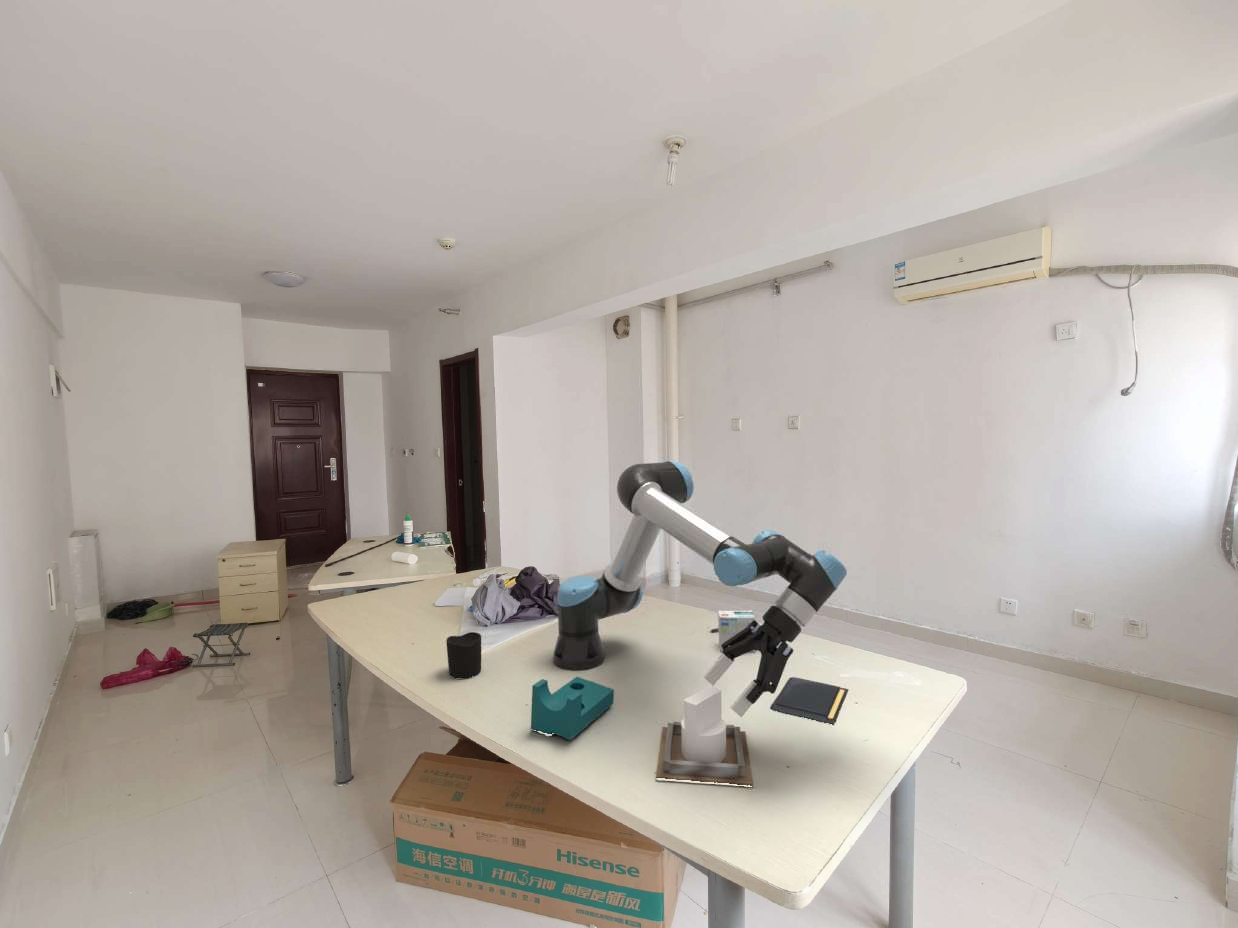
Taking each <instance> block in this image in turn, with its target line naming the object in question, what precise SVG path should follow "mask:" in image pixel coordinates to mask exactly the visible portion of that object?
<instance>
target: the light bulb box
mask: <svg viewBox="0 0 1238 928" xmlns="http://www.w3.org/2000/svg"><path fill="white" fill-rule="evenodd" d="M717 612H718V613H717V614H718V616H717V618H718V619H717V620H718V621H717V622H718V624H717V625H718V646H719V652H723V648H722V647H721V645H722V644H723V643H724V642H726V641H727V640H729V639H730V638H732V637H733V636H735V635H736V634H737V633H739V632H740V631H742V630H743V629H745V628H746V627H747V626H748V625H749V624H750V623H751V622H752V621H754V620H755V621H756V619H755V615H754V612H753V610H717ZM751 632H752V631H751ZM749 653H756V650H753V651H750V652H749Z"/></svg>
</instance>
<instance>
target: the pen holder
mask: <svg viewBox="0 0 1238 928" xmlns="http://www.w3.org/2000/svg"><path fill="white" fill-rule="evenodd" d="M445 641H446V642H445V643H446V653H447V664H448V674H449V676H450V677H451V676H452V677H454V678H453V679H455V678H467V679H470V678H469V677H471V678H473V677H472V676H474V677H476V676H478V675H479V674H480V673H481V671H482V634H481V633H478V632H474V631H471V632H469V631H468V632H466V633H464V634H462V635H450V636H448V637H447V638H446V640H445ZM478 673H479V674H478ZM477 674H478V675H477ZM475 675H476V676H475ZM452 677H451V678H452Z"/></svg>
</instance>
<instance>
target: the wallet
mask: <svg viewBox="0 0 1238 928" xmlns="http://www.w3.org/2000/svg"><path fill="white" fill-rule="evenodd" d="M848 692H849V689H848V688H845V687H841V686H837V685H834V684H829V683H824V682H819V681H814V680H809V679H804V678H800V677H796V676H795V677H794V676H792V677H791V676H790V677H789V678H788V680H786V682H785V684H784V686H783V687H782V689H781V690H780V692H779V694H778V695H777V696H776V698H775V699H774V701H773V702H772V703H771V704H770V707H769V710H771V711H773V712H776V711H777V713H781V714H785V715H788V714H789V716H794V717H797V716H798V718H801V717H802V718H803V717H804V718H803V719H805V718H807V719H806V720H809V719H811V720H810V721H813V720H816V721H815V722H817V721H818V723H822V722H824V723H823V724H826V723H829V724H828V725H830V724H832V726H835V724H836V723H835V722H837V720H838V716H839V714H840V712H841V710H842V707H843V705H842V704H844V701H845V700H846V697H847V694H848ZM839 711H840V712H839ZM836 719H837V720H836ZM834 723H835V724H834Z"/></svg>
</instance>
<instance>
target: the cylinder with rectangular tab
mask: <svg viewBox="0 0 1238 928" xmlns="http://www.w3.org/2000/svg"><path fill="white" fill-rule="evenodd" d="M683 705H684V706H683V710H684V711H683V712H684V713H683V715H684V717H683V718H682V719H681V721H680V722H681V739H682V755H683V757H684V758H685V759H686V760H688V761H696V762H711V763H720V762H722V761H723V760H724V759H725V757H726V725H727V724H726V722H725V720H724V719H723V717H722V715H723V713H722V689H720V688H718V687H716V686H713V685H708V686H706V687H705V688H703V689H701V690H699V691H698V692H696V693H694V694H692V695H691V696H688V697H687V698H685V699H684V700H683Z"/></svg>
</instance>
